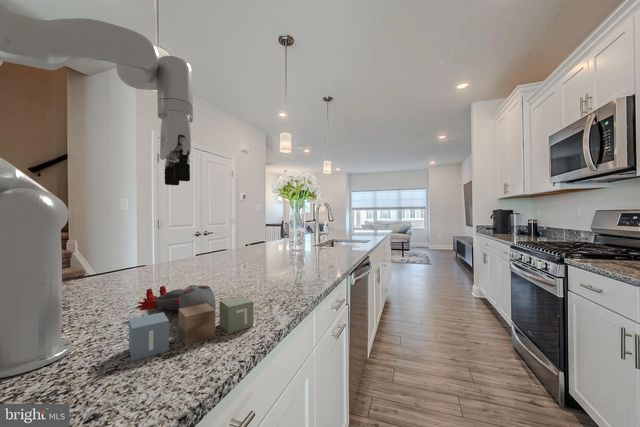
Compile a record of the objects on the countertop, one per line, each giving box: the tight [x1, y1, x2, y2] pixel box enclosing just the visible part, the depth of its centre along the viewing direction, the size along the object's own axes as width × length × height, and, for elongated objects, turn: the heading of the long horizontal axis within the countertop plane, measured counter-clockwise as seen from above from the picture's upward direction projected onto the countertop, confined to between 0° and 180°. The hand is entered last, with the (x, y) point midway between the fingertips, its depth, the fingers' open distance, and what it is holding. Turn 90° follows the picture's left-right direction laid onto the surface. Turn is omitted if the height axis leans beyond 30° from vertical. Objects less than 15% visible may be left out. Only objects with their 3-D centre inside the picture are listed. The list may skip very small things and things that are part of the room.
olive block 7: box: [219, 295, 254, 334], centre depth 64 cm, size 6×6×6 cm
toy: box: [137, 284, 217, 311], centre depth 73 cm, size 16×10×30 cm
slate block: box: [128, 311, 170, 362], centre depth 53 cm, size 6×6×6 cm
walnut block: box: [178, 303, 216, 346], centre depth 59 cm, size 6×6×6 cm
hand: (176, 183), depth 64 cm, fingers open, 9 cm apart
